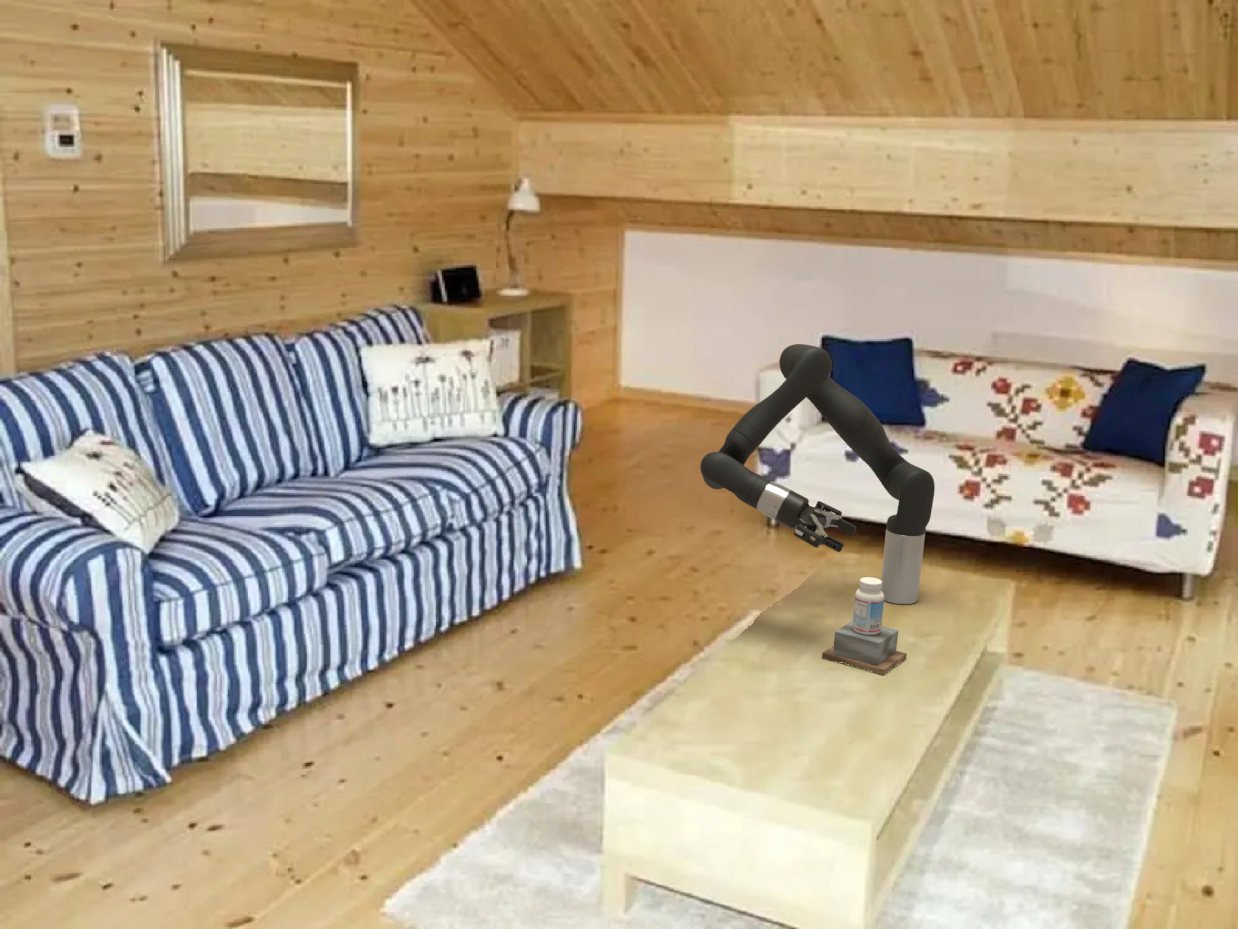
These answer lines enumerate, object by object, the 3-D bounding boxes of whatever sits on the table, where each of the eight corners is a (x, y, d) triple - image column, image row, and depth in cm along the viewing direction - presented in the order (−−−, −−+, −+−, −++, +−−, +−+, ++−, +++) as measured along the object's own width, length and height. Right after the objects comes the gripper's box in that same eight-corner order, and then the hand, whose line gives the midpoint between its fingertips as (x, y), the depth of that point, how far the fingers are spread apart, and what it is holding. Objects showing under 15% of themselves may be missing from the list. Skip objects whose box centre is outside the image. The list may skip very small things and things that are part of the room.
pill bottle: (879, 627, 272) (884, 577, 269) (882, 637, 266) (887, 586, 263) (850, 624, 272) (855, 574, 270) (852, 634, 266) (857, 584, 264)
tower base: (846, 642, 279) (848, 615, 278) (906, 658, 271) (909, 631, 270) (821, 658, 269) (824, 630, 268) (883, 675, 262) (886, 647, 260)
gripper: (776, 504, 270) (844, 540, 266) (799, 478, 282) (865, 512, 277) (764, 531, 274) (831, 567, 270) (788, 505, 286) (852, 539, 281)
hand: (848, 539), depth 273 cm, fingers open, 8 cm apart
